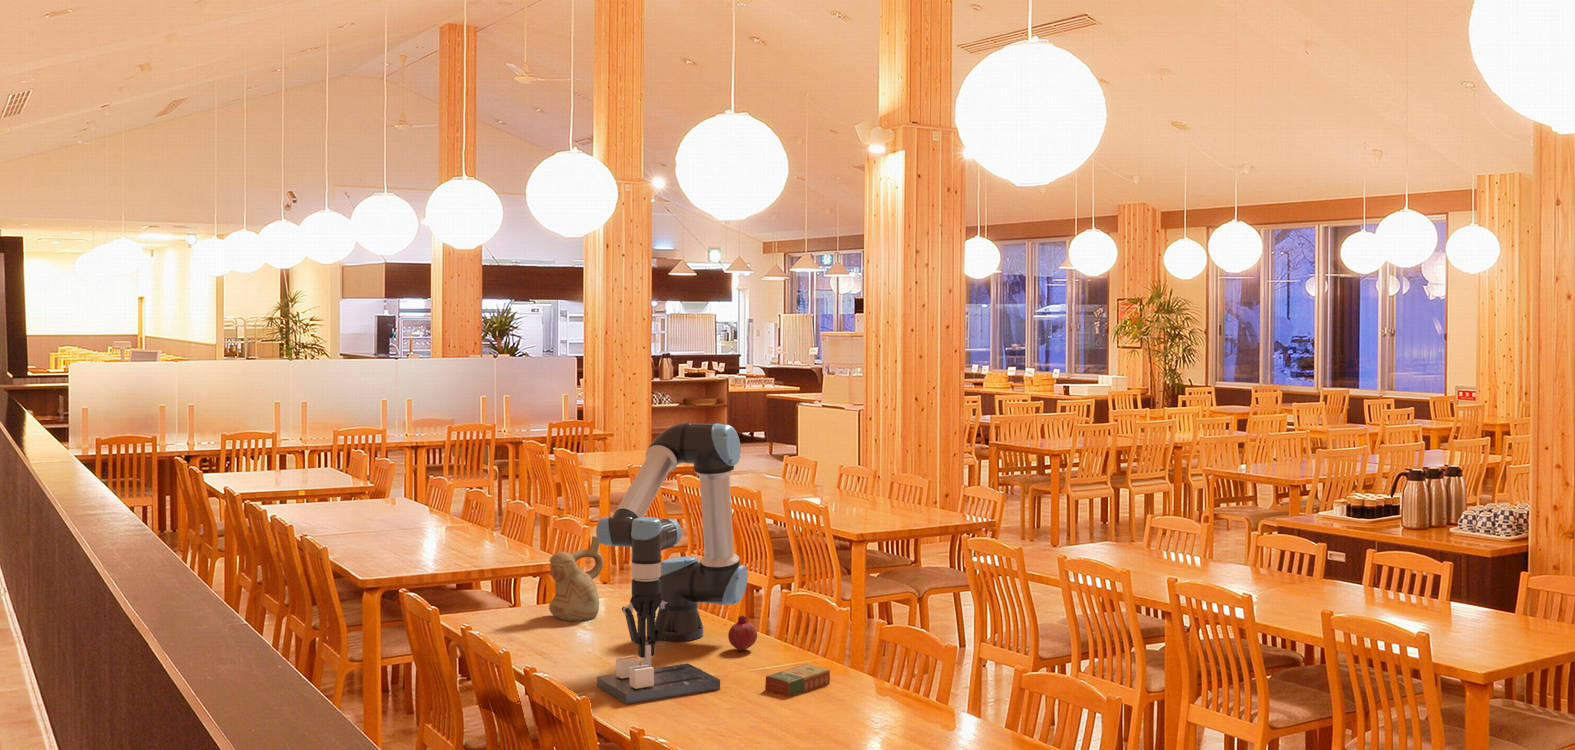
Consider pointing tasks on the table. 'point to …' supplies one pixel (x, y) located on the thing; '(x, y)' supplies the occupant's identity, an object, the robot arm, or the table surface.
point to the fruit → (742, 634)
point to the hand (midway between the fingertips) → (646, 669)
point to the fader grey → (641, 676)
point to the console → (660, 684)
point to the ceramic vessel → (575, 584)
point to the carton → (797, 680)
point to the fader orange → (625, 665)
